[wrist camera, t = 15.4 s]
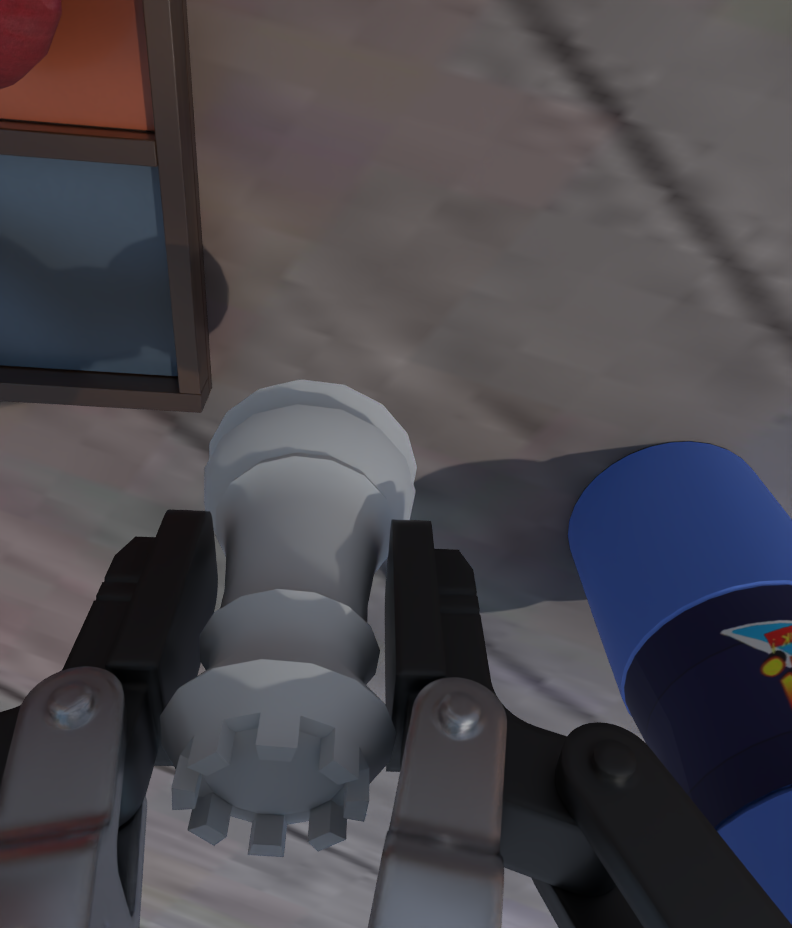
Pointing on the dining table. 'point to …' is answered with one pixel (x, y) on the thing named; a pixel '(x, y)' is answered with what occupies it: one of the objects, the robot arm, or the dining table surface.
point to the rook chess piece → (292, 618)
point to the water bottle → (701, 634)
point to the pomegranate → (25, 35)
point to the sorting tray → (104, 216)
